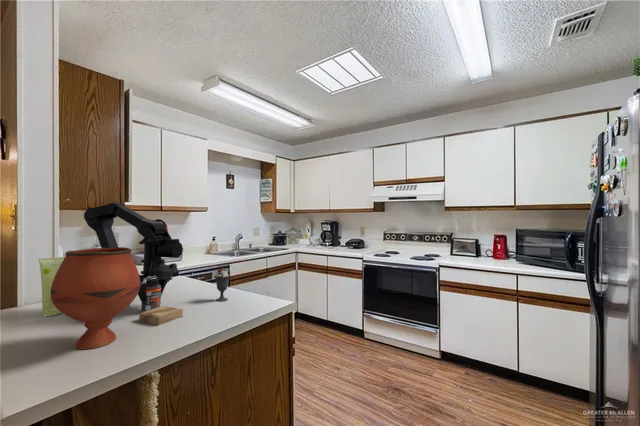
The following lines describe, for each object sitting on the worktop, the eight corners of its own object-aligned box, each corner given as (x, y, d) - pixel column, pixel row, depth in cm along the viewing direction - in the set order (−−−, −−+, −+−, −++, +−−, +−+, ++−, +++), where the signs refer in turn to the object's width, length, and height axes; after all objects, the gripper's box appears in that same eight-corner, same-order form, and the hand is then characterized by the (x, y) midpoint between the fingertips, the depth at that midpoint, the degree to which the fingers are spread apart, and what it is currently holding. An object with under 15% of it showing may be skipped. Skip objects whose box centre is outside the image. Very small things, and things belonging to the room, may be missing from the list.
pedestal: (139, 320, 91) (139, 312, 91) (163, 312, 100) (164, 305, 100) (158, 325, 88) (158, 316, 88) (182, 316, 96) (182, 308, 96)
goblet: (126, 323, 89) (129, 245, 90) (149, 340, 77) (152, 250, 77) (41, 343, 74) (46, 248, 75) (53, 368, 62) (59, 255, 63)
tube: (49, 317, 92) (52, 258, 93) (35, 317, 93) (38, 258, 93) (66, 312, 98) (69, 256, 99) (53, 311, 98) (55, 256, 99)
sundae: (210, 301, 114) (211, 264, 114) (218, 297, 121) (219, 262, 121) (225, 302, 113) (226, 265, 113) (232, 298, 119) (233, 263, 120)
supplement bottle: (151, 314, 98) (152, 281, 98) (136, 312, 99) (138, 280, 99) (164, 309, 104) (165, 278, 104) (150, 307, 105) (151, 277, 105)
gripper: (143, 261, 90) (141, 310, 90) (190, 255, 107) (188, 296, 107) (120, 259, 94) (118, 305, 94) (169, 253, 112) (167, 292, 111)
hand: (151, 299), depth 101 cm, fingers closed on supplement bottle, 6 cm apart
